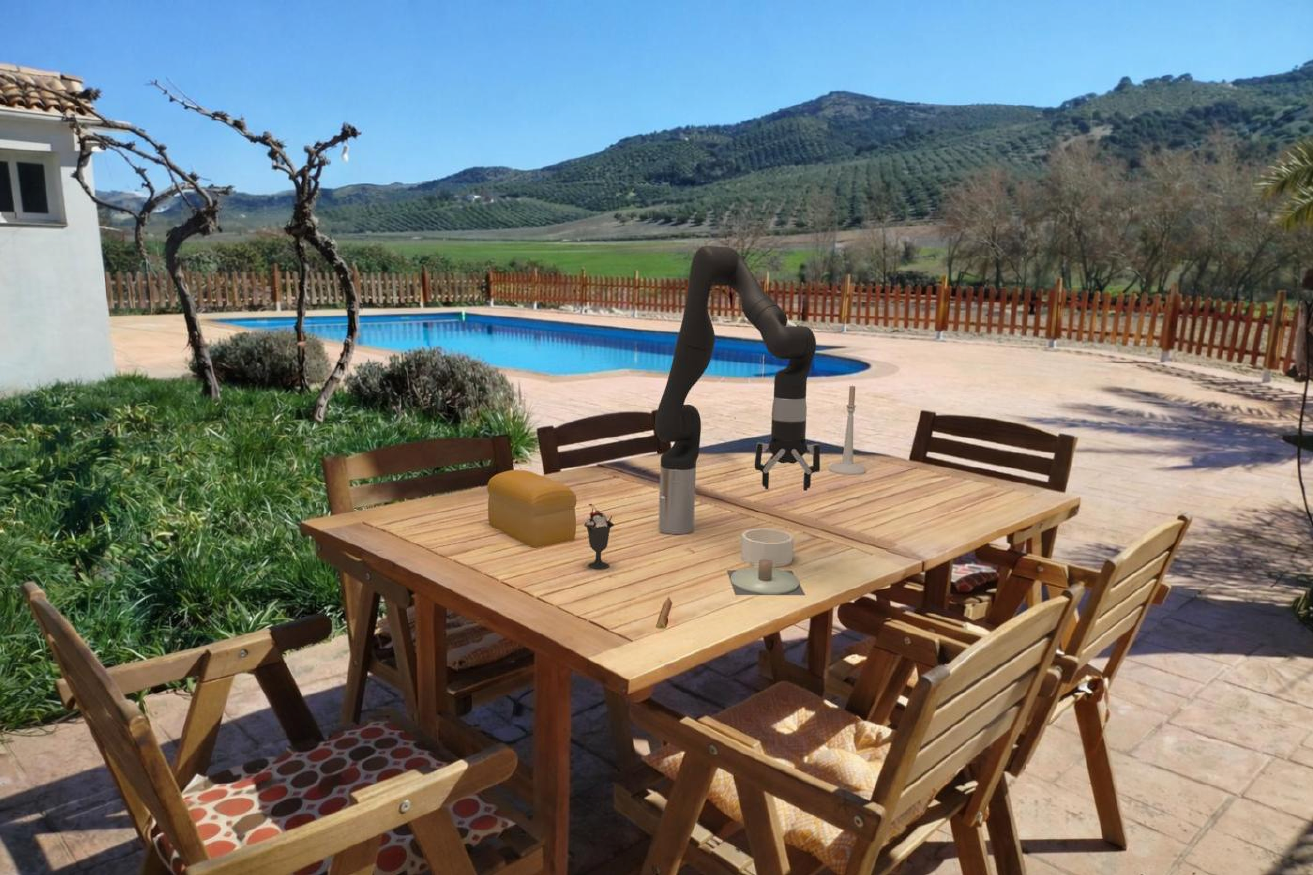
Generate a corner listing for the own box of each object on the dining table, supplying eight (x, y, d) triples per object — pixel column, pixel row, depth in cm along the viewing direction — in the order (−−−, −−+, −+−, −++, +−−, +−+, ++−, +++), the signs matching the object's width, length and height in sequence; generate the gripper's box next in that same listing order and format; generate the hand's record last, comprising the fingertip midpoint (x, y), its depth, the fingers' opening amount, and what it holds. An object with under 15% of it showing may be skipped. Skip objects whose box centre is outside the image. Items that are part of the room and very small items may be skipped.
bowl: (744, 568, 203) (745, 543, 201) (738, 551, 214) (738, 528, 213) (796, 568, 203) (797, 544, 202) (786, 552, 215) (787, 528, 214)
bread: (577, 540, 221) (577, 482, 218) (533, 549, 213) (532, 489, 211) (529, 517, 240) (528, 464, 237) (486, 525, 232) (485, 470, 229)
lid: (735, 594, 185) (736, 573, 184) (726, 570, 200) (727, 550, 199) (805, 595, 186) (806, 573, 185) (791, 570, 201) (792, 550, 200)
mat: (735, 596, 185) (735, 594, 185) (726, 572, 200) (726, 570, 200) (805, 596, 186) (805, 594, 186) (791, 572, 201) (791, 570, 201)
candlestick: (821, 467, 308) (826, 382, 302) (854, 465, 312) (859, 382, 306) (839, 475, 296) (845, 388, 290) (873, 473, 300) (879, 387, 294)
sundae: (577, 565, 202) (578, 503, 199) (599, 559, 207) (600, 498, 204) (596, 573, 197) (596, 509, 195) (618, 566, 202) (619, 503, 199)
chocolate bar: (654, 629, 169) (654, 618, 168) (662, 606, 180) (662, 595, 180) (667, 630, 168) (667, 619, 168) (674, 606, 180) (674, 596, 180)
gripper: (757, 419, 189) (754, 492, 192) (823, 421, 188) (820, 494, 191) (755, 414, 196) (753, 484, 199) (819, 415, 195) (816, 486, 198)
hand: (786, 489), depth 195 cm, fingers open, 8 cm apart
